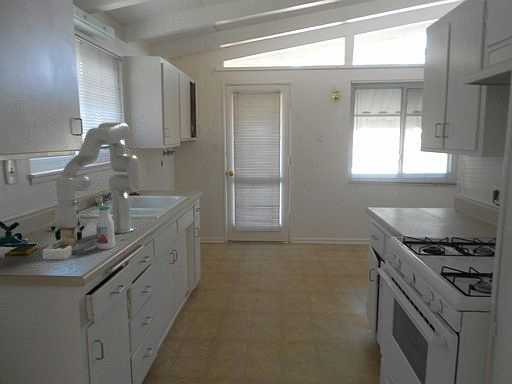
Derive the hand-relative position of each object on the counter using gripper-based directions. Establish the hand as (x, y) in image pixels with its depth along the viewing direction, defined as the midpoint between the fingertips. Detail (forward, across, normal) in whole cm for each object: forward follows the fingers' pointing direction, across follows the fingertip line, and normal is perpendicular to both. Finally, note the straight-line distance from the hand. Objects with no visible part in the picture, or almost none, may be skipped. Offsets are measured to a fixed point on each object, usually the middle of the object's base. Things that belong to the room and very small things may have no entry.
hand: (69, 239), depth 182 cm
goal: (+5, 0, +11) cm, 12 cm away
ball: (+3, 0, +10) cm, 10 cm away
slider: (+2, 0, 0) cm, 2 cm away
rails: (+3, 0, +4) cm, 5 cm away
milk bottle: (+5, -16, -3) cm, 17 cm away
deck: (+5, 0, 0) cm, 5 cm away
